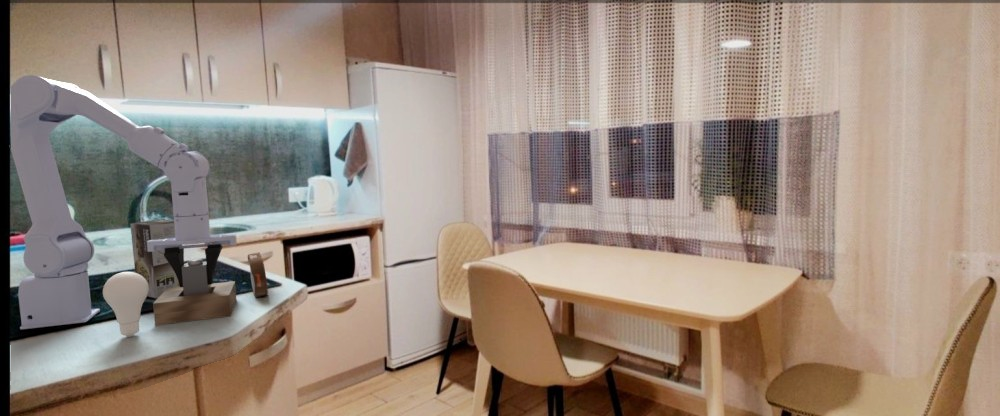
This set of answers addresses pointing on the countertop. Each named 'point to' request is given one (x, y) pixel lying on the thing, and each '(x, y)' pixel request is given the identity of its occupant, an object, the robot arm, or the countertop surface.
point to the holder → (194, 304)
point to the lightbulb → (126, 299)
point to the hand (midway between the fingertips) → (196, 284)
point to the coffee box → (153, 255)
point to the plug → (195, 278)
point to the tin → (258, 274)
